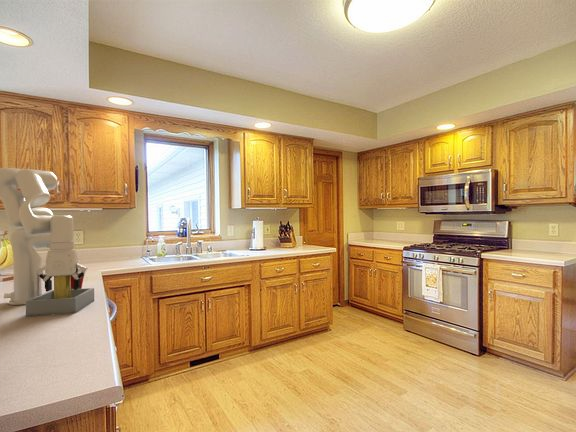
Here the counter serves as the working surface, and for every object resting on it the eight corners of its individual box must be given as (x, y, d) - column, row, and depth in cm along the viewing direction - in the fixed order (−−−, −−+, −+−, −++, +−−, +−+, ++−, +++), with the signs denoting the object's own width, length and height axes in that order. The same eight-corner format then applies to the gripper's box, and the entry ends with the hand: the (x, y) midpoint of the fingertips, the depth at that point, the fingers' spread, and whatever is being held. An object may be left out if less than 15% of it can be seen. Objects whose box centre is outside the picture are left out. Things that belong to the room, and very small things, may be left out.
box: (25, 316, 113) (25, 301, 113) (51, 303, 131) (51, 290, 131) (75, 313, 117) (75, 298, 117) (94, 300, 134) (94, 287, 135)
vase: (49, 308, 120) (49, 271, 120) (57, 304, 126) (56, 268, 126) (68, 307, 122) (68, 270, 122) (74, 303, 128) (74, 268, 128)
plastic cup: (72, 299, 137) (72, 272, 137) (51, 298, 139) (51, 271, 139) (92, 293, 148) (92, 268, 148) (73, 293, 150) (73, 267, 150)
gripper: (31, 248, 119) (32, 293, 118) (82, 246, 122) (83, 290, 122) (42, 246, 126) (42, 289, 126) (90, 245, 130) (90, 286, 130)
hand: (62, 290), depth 124 cm, fingers open, 9 cm apart
